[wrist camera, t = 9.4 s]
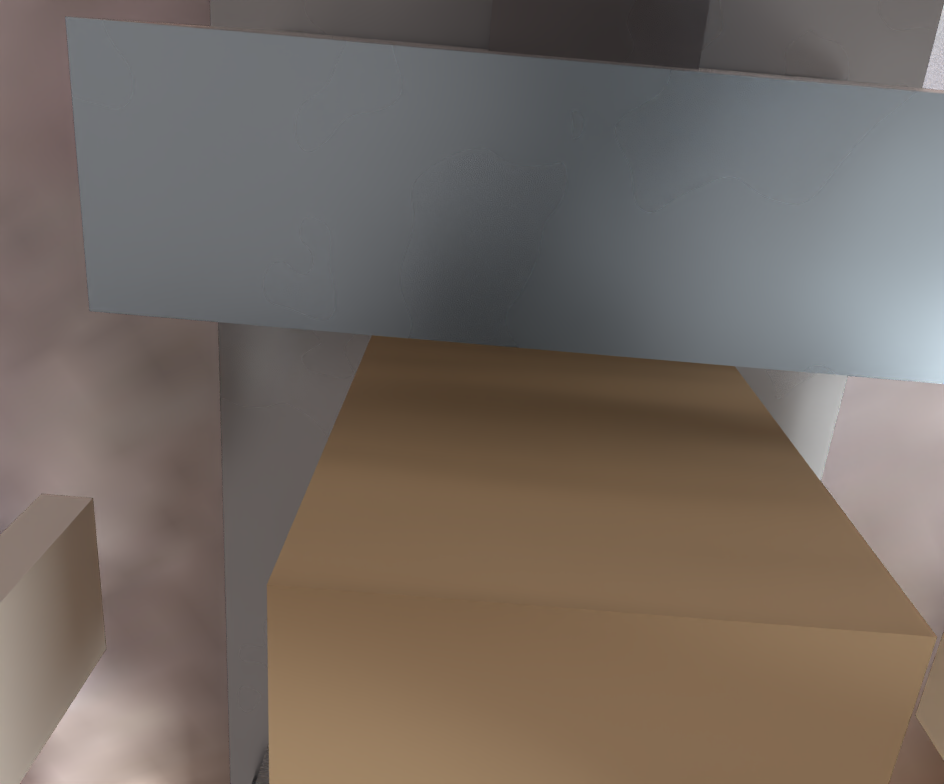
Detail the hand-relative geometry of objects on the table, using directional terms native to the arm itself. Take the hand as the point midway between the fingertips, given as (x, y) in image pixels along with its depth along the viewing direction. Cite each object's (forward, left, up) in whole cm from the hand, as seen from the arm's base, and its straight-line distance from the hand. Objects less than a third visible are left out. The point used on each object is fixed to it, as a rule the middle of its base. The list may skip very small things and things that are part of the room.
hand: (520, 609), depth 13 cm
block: (0, 0, -3) cm, 3 cm away
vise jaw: (-9, 0, -3) cm, 10 cm away
